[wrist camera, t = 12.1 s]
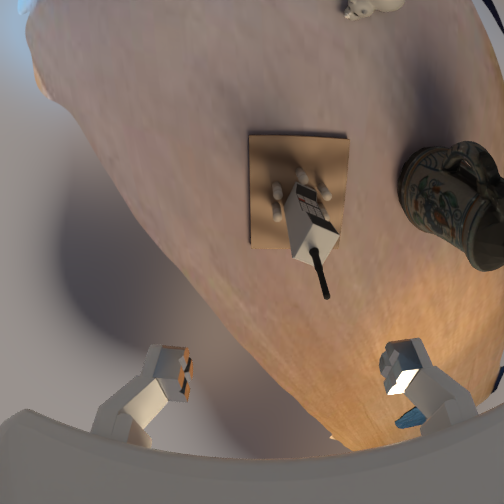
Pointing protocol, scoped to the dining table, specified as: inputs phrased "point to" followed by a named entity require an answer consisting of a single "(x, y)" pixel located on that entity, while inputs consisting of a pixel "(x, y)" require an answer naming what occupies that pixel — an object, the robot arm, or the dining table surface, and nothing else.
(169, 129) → the dining table surface
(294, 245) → the vintage mobile phone
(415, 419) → the decorative plate
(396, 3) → the round bodied animal figurine
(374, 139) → the dining table surface
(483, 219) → the beer stein
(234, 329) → the dining table surface
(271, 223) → the pin dock
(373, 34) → the dining table surface
